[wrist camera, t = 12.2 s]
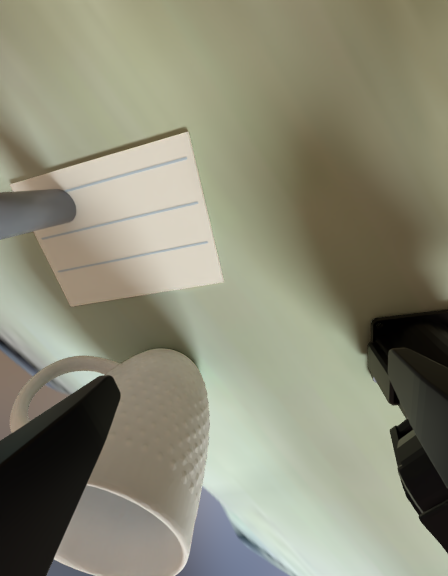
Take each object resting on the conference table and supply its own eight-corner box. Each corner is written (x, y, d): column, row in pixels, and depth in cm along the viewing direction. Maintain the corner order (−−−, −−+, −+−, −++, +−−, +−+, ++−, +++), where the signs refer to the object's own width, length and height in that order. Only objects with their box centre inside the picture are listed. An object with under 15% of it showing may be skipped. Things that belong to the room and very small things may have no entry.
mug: (73, 368, 27) (-69, 513, 15) (99, 289, 23) (-72, 408, 11) (194, 426, 29) (148, 601, 17) (241, 362, 24) (224, 539, 12)
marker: (67, 183, 19) (-105, 191, 10) (83, 220, 20) (-60, 257, 11) (37, 192, 20) (-152, 206, 11) (54, 227, 21) (-105, 267, 12)
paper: (188, 132, 17) (187, 131, 17) (224, 280, 21) (223, 282, 21) (12, 184, 20) (9, 184, 20) (73, 305, 24) (70, 306, 24)
